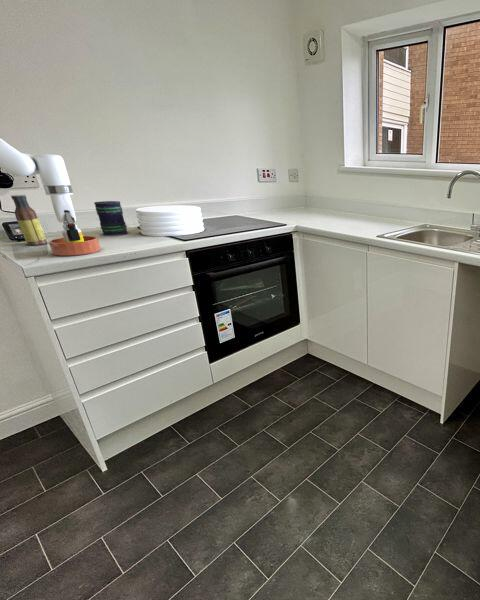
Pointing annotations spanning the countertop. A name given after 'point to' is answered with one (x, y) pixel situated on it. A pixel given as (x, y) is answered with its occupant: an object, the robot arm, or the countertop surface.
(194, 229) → the plate stack
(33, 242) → the sauce bottle
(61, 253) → the bowl
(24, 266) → the countertop surface
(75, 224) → the supplement bottle
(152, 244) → the countertop surface
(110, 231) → the storage jar
